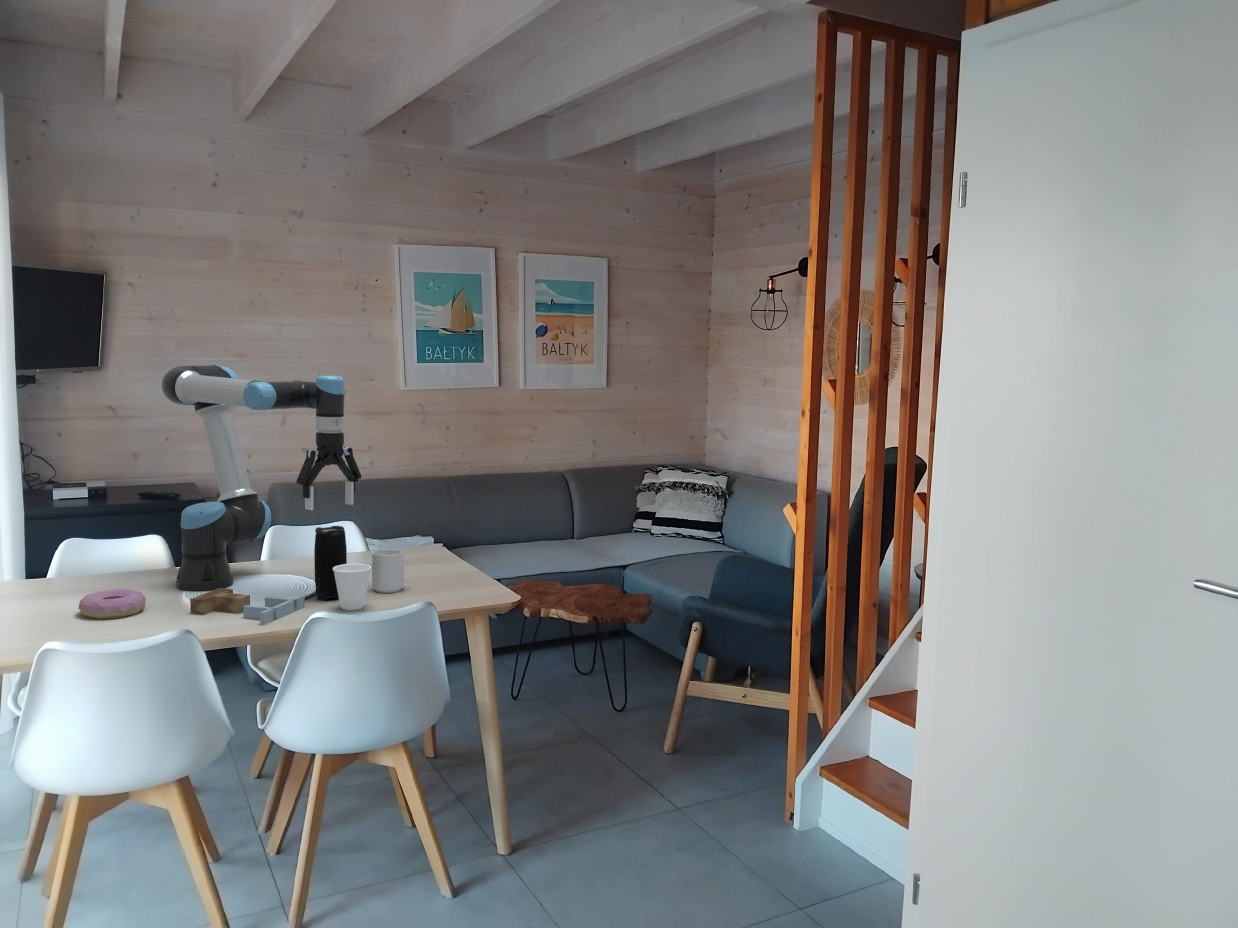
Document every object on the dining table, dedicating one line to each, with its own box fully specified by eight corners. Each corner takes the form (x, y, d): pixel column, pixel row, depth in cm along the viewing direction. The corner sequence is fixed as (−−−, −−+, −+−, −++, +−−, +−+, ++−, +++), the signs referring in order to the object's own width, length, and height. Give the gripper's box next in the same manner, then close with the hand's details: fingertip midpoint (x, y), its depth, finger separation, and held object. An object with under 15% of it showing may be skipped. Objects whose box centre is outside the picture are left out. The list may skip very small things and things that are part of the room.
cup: (375, 603, 261) (374, 563, 259) (366, 613, 251) (366, 571, 250) (338, 602, 260) (338, 563, 259) (328, 612, 250) (328, 571, 249)
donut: (71, 612, 246) (70, 593, 246) (134, 602, 257) (134, 584, 256) (90, 625, 235) (89, 605, 235) (155, 614, 246) (154, 595, 246)
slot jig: (234, 621, 240) (233, 609, 240) (276, 603, 258) (275, 593, 257) (264, 624, 238) (264, 612, 238) (304, 606, 256) (304, 595, 255)
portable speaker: (339, 591, 272) (339, 524, 270) (352, 598, 265) (351, 529, 263) (309, 595, 267) (309, 526, 265) (321, 603, 260) (321, 532, 257)
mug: (405, 592, 273) (405, 554, 272) (373, 594, 270) (373, 555, 269) (401, 583, 284) (401, 546, 283) (370, 584, 281) (370, 547, 280)
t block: (190, 613, 247) (190, 598, 246) (220, 602, 258) (219, 587, 258) (231, 617, 244) (230, 602, 243) (259, 606, 255) (259, 591, 255)
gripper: (300, 435, 254) (300, 513, 256) (374, 430, 274) (373, 503, 276) (282, 432, 258) (282, 510, 261) (357, 428, 278) (356, 500, 281)
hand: (329, 506), depth 269 cm, fingers open, 13 cm apart
